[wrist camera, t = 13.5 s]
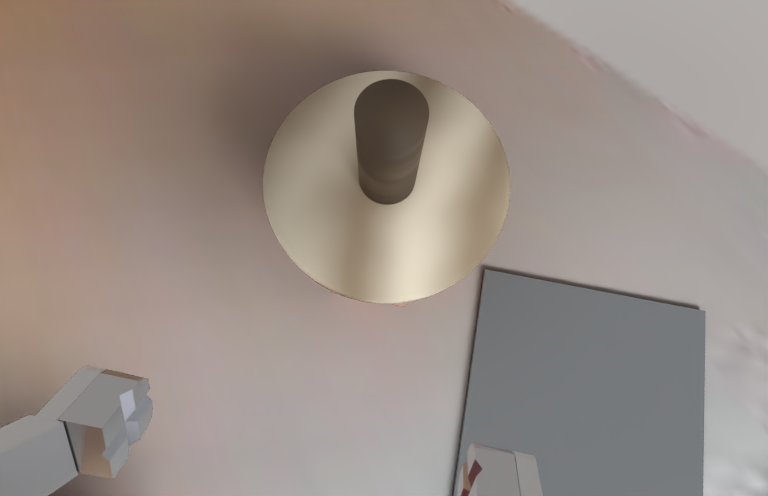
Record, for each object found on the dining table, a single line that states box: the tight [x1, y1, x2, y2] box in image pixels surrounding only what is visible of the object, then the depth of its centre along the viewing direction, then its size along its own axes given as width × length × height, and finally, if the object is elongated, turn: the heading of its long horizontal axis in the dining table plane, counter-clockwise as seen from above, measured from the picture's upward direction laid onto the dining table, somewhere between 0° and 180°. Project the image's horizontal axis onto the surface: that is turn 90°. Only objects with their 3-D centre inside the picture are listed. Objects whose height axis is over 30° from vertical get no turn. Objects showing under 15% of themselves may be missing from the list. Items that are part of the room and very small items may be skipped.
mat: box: [453, 269, 705, 496], centre depth 30 cm, size 15×15×1 cm
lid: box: [263, 71, 511, 304], centre depth 24 cm, size 14×14×8 cm
